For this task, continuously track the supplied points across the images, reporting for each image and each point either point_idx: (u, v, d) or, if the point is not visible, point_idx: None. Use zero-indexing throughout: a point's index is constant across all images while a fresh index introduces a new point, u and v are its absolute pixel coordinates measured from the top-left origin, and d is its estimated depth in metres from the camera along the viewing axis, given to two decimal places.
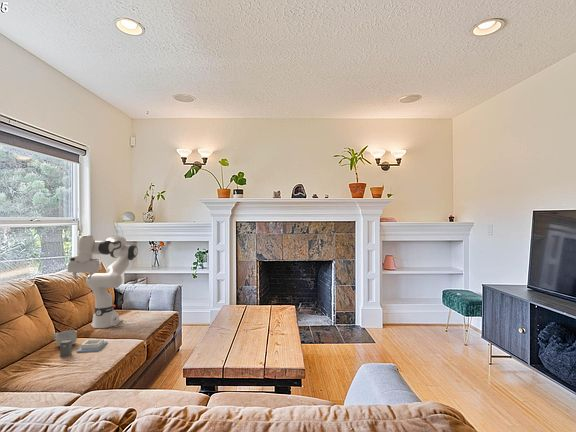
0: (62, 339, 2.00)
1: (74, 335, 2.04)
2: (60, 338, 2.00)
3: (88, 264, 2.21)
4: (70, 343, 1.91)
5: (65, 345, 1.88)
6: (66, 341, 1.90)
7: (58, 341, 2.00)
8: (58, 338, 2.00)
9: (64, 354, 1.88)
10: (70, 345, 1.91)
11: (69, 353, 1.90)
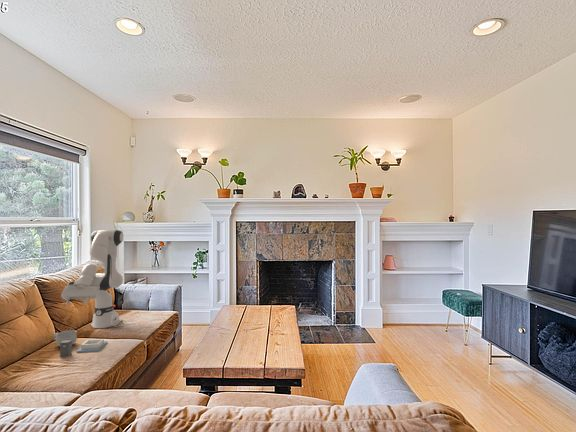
0: (62, 339, 2.00)
1: (74, 335, 2.04)
2: (60, 338, 2.00)
3: (87, 288, 2.09)
4: (70, 343, 1.91)
5: (65, 345, 1.88)
6: (66, 341, 1.90)
7: (58, 341, 2.00)
8: (58, 338, 2.00)
9: (64, 354, 1.88)
10: (70, 345, 1.91)
11: (69, 353, 1.90)
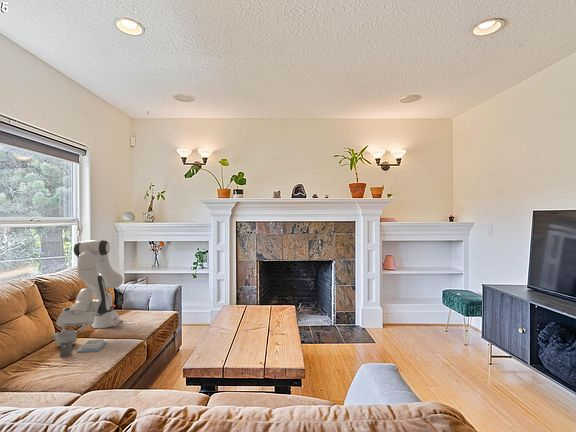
0: (62, 339, 2.00)
1: (74, 335, 2.04)
2: (60, 338, 2.00)
3: (84, 314, 2.03)
4: (70, 343, 1.91)
5: (65, 345, 1.88)
6: (66, 341, 1.90)
7: (58, 341, 2.00)
8: (58, 338, 2.00)
9: (64, 354, 1.88)
10: (70, 345, 1.91)
11: (69, 353, 1.90)
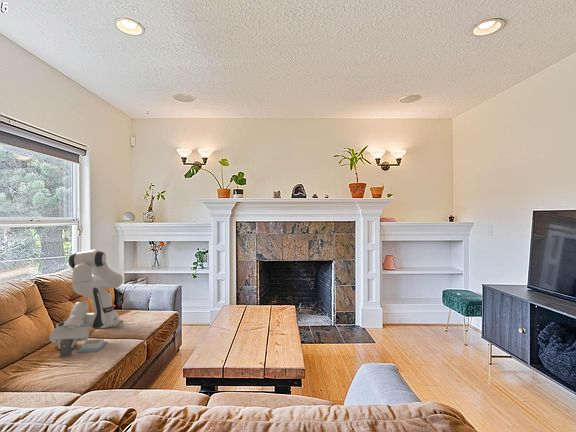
0: None
1: None
2: None
3: (78, 330, 1.96)
4: (70, 343, 1.91)
5: (65, 345, 1.88)
6: (66, 341, 1.90)
7: None
8: None
9: (64, 354, 1.88)
10: None
11: (69, 353, 1.90)
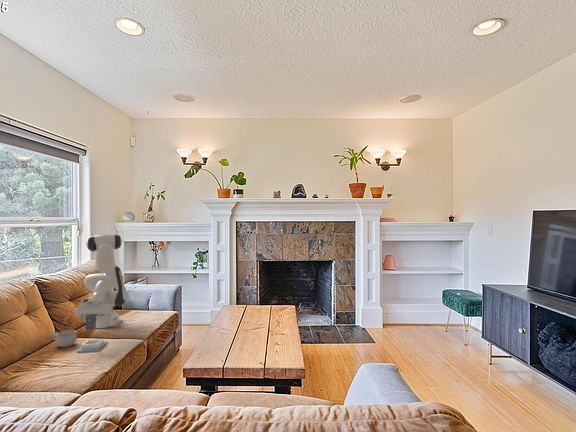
0: (62, 339, 2.00)
1: (74, 335, 2.04)
2: (60, 338, 2.00)
3: (102, 306, 2.07)
4: (94, 318, 2.02)
5: (90, 320, 1.99)
6: (91, 316, 2.01)
7: (58, 341, 2.00)
8: (58, 338, 2.00)
9: (89, 328, 1.99)
10: None
11: (94, 327, 2.01)
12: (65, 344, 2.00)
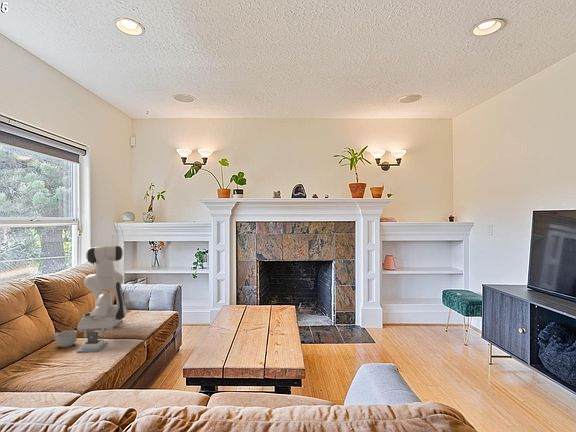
0: (62, 339, 2.00)
1: (74, 335, 2.04)
2: (60, 338, 2.00)
3: (103, 320, 2.08)
4: (96, 334, 2.02)
5: (92, 337, 2.00)
6: (93, 333, 2.02)
7: (58, 341, 2.00)
8: (58, 338, 2.00)
9: None
10: (97, 337, 2.02)
11: None
12: (65, 344, 2.00)
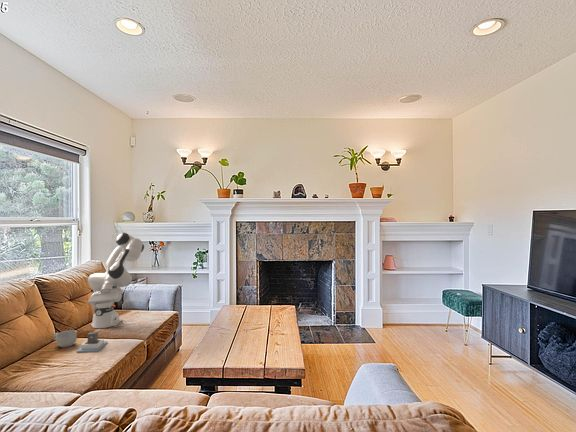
0: (62, 339, 2.00)
1: (74, 335, 2.04)
2: (60, 338, 2.00)
3: None
4: (96, 334, 2.02)
5: (92, 337, 2.00)
6: (93, 333, 2.02)
7: (58, 341, 2.00)
8: (58, 338, 2.00)
9: None
10: (97, 337, 2.02)
11: None
12: (65, 344, 2.00)
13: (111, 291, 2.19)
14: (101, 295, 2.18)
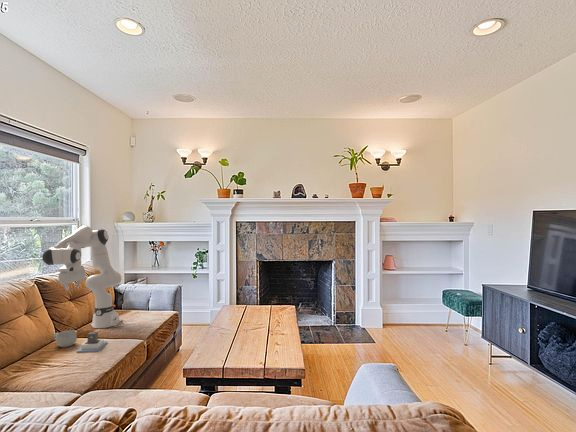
0: (62, 339, 2.00)
1: (74, 335, 2.04)
2: (60, 338, 2.00)
3: (79, 272, 2.17)
4: (96, 334, 2.02)
5: (92, 337, 2.00)
6: (93, 333, 2.02)
7: (58, 341, 2.00)
8: (58, 338, 2.00)
9: None
10: (97, 337, 2.02)
11: None
12: (65, 344, 2.00)
13: None
14: None
